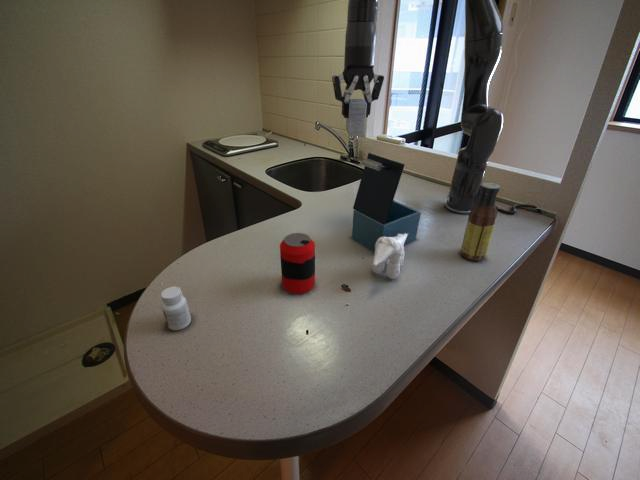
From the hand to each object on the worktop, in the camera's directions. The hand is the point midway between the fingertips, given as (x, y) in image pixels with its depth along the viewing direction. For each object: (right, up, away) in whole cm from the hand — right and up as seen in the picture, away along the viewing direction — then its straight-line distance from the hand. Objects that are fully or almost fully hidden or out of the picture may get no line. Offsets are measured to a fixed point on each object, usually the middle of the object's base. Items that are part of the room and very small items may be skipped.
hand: (355, 117), depth 87 cm
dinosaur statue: (+8, -41, -7) cm, 42 cm away
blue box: (+9, -33, +5) cm, 35 cm away
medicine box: (0, -4, +2) cm, 5 cm away
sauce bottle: (+31, -38, -2) cm, 49 cm away
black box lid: (+5, -21, -6) cm, 22 cm away
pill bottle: (-37, -50, -24) cm, 67 cm away
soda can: (-15, -44, -13) cm, 49 cm away
